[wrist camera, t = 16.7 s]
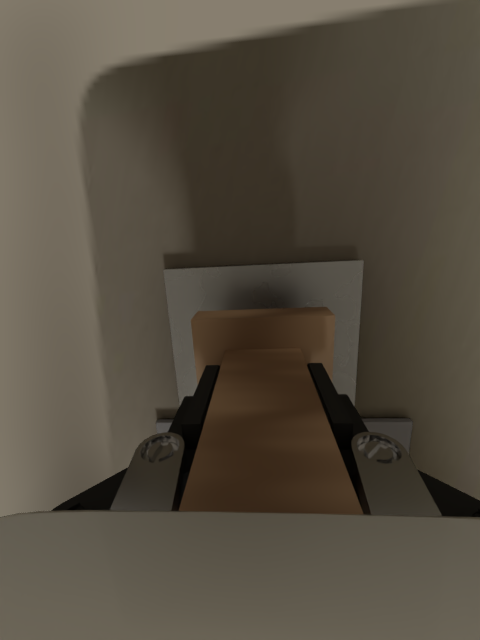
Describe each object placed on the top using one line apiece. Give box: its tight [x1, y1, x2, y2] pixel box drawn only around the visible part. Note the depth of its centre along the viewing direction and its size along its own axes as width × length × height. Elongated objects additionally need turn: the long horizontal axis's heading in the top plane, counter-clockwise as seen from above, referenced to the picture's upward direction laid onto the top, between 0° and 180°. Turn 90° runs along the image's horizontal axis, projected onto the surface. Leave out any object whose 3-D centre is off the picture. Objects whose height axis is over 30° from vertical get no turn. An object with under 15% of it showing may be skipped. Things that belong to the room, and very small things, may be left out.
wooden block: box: [179, 307, 363, 514], centre depth 9 cm, size 6×6×10 cm
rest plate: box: [163, 260, 364, 407], centre depth 18 cm, size 12×10×1 cm
